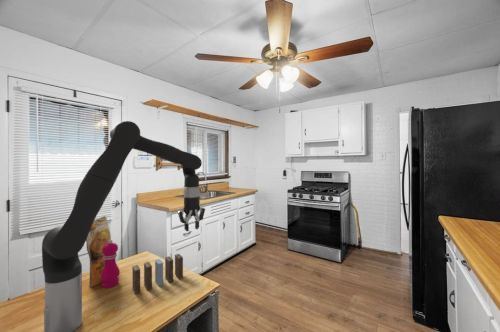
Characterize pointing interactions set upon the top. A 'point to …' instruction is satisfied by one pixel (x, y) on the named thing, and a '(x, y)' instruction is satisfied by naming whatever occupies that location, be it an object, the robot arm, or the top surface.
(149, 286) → the domino
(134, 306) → the top surface
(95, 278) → the pancake mix bag
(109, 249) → the pepper mill
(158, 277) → the domino
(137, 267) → the domino
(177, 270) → the domino
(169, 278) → the domino
